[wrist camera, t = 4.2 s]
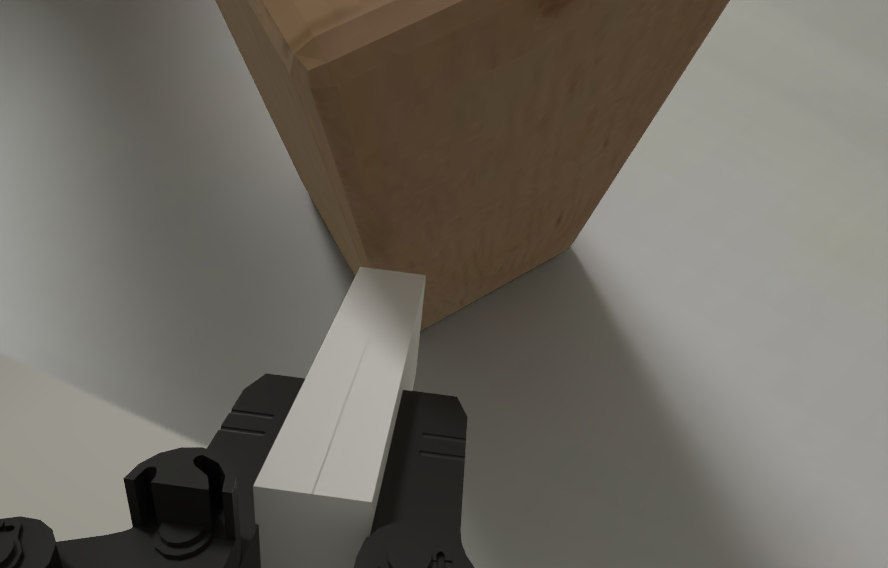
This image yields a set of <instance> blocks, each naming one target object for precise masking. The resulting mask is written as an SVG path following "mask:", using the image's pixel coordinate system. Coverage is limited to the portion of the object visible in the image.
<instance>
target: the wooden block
mask: <svg viewBox="0 0 888 568" xmlns="http://www.w3.org/2000/svg"><path fill="white" fill-rule="evenodd" d="M729 1H730V0H216V2H217V4H218V6H219V9H220V11H221V13H222V15H223V17H224V19H225V21H226V23H227V25H228V27H229V30H230V32H231V34H232V36H233V38H234V40H235V42H236V44H237V46H238V48H239V51H240V53H241V55H242V57H243V59H244V61H245V63H246V65H247V67H248V69H249V71H250V74H251V76H252V78H253V80H254V82H255V84H256V86H257V88H258V90H259V92H260V95H261V97H262V99H263V101H264V103H265V105H266V107H267V109H268V111H269V113H270V116H271V118H272V120H273V122H274V124H275V126H276V128H277V130H278V132H279V134H280V137H281V139H282V141H283V143H284V145H285V147H286V149H287V151H288V153H289V155H290V157H291V160H292V162H293V164H294V166H295V168H296V170H297V172H298V174H299V176H300V178H301V181H302V182H303V184H304V186H305V188H306V190H307V191H308V193H309V195H310V197H311V199H312V200H313V202H314V204H315V206H316V208H317V209H318V211H319V213H320V215H321V217H322V218H323V220H324V222H325V224H326V226H327V227H328V229H329V231H330V233H331V234H332V236H333V238H334V240H335V242H336V243H337V245H338V247H339V249H340V251H341V252H342V254H343V256H344V258H345V260H346V261H347V263H348V265H349V267H350V269H351V270H352V272H353V274H354V276H356V274H357V272H358V270H359V268H360V267H366V268H374V269H382V270H389V271H397V272H405V273H413V274H421V275H426V279H425V289H424V299H423V309H422V319H421V329H420V331H422V330H424V329H426V328H427V327H429V326H431V325H433V324H435V323H436V322H438V321H440V320H442V319H444V318H445V317H447V316H449V315H451V314H453V313H454V312H456V311H458V310H460V309H462V308H463V307H465V306H467V305H469V304H471V303H472V302H474V301H476V300H478V299H480V298H481V297H483V296H485V295H487V294H489V293H490V292H492V291H494V290H496V289H497V288H499V287H501V286H503V285H505V284H506V283H508V282H510V281H512V280H514V279H515V278H517V277H519V276H521V275H523V274H524V273H526V272H528V271H530V270H532V269H533V268H535V267H537V266H539V265H541V264H542V263H544V262H546V261H548V260H550V259H551V258H553V257H555V256H557V255H559V254H560V253H562V252H564V251H566V250H568V249H569V248H570V246H571V245H572V244H573V242H574V241H575V239H576V238H577V236H578V234H579V233H580V231H581V230H582V228H583V227H584V225H585V224H586V222H587V221H588V219H589V217H590V216H591V214H592V213H593V211H594V210H595V208H596V207H597V205H598V204H599V202H600V200H601V199H602V197H603V196H604V194H605V193H606V191H607V190H608V188H609V186H610V185H611V183H612V182H613V180H614V179H615V177H616V176H617V174H618V173H619V171H620V169H621V168H622V166H623V165H624V163H625V162H626V160H627V159H628V157H629V156H630V154H631V152H632V151H633V149H634V148H635V146H636V145H637V143H638V142H639V140H640V139H641V137H642V135H643V134H644V132H645V131H646V129H647V128H648V126H649V125H650V123H651V121H652V120H653V118H654V117H655V115H656V114H657V112H658V111H659V109H660V108H661V106H662V104H663V103H664V101H665V100H666V98H667V97H668V95H669V94H670V92H671V91H672V89H673V87H674V86H675V84H676V83H677V81H678V80H679V78H680V77H681V75H682V74H683V72H684V70H685V69H686V67H687V66H688V64H689V63H690V61H691V60H692V58H693V56H694V55H695V53H696V52H697V50H698V49H699V47H700V46H701V44H702V43H703V41H704V39H705V38H706V36H707V35H708V33H709V32H710V30H711V29H712V27H713V26H714V24H715V22H716V21H717V19H718V18H719V16H720V15H721V13H722V12H723V10H724V9H725V7H726V5H727V4H728V2H729Z"/></svg>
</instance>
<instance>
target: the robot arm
mask: <svg viewBox="0 0 888 568" xmlns="http://www.w3.org/2000/svg"><path fill="white" fill-rule="evenodd" d="M425 279H426V275H421V274H413V273H405V272H397V271H389V270H382V269H374V268H366V267H360V268H359V270H358V272H357V274H356V276H355V278H354V280H353V282H352V284H351V286H350V288H349V290H348V292H347V294H346V296H345V298H344V301H343V303H342V305H341V307H340V309H339V311H338V313H337V315H336V317H335V319H334V321H333V323H332V325H331V327H330V329H329V331H328V333H327V335H326V337H325V340H324V342H323V344H322V346H321V348H320V350H319V352H318V354H317V356H316V358H315V360H314V362H313V364H312V366H311V368H310V370H309V372H308V374H307V376H306V378H305V379H303V378H295V377H288V376H280V375H273V374H265V375H264V376H262V377H261V378H259V379H258V380H257V381H255V382H254V383H252V384H251V385H250V386H248V387H247V388H245V389H244V390H243V392H242V394H241V395H240V397H239V398H238V400H237V402H236V403H235V405H234V406H233V408H232V411H231V413H229V414H228V416H227V418H226V419H225V421H224V422H223V424H222V425H221V430H218V432H217V433H216V435H215V437H214V438H213V440H212V441H211V443H210V445H209V446H208V448H207V449H205V448H178V449H174V450H170V451H166V452H162V453H159V454H157V455H155V456H153V457H151V458H149V459H147V460H146V461H144V462H142V463H140V464H138V466H136V467H135V468H134V469H133V470H132V471H131V472H130V473H129V474H128V475H127V476H126V477H125V478H124V483H125V488H126V493H127V498H128V503H129V509H130V514H131V520H132V524H133V527H132V528H131V529H129V530H126V531H123V532H119V533H114V534H109V535H104V536H96V537H89V538H82V539H75V540H68V541H60V542H56V541H55V538H54V534H53V530H52V529H51V528H49V527H48V526H47V525H46V524H44V523H43V522H42V521H41V520H37V519H32V518H26V517H13V518H5V519H0V568H474V566H473V565H472V563H471V562H470V560H469V559H468V558H467V556H466V554H465V551H464V548H463V546H462V543H461V533H460V527H461V510H462V494H463V478H464V459H465V445H466V443H465V442H466V429H467V415H466V413H465V412H464V410H463V408H462V406H461V404H460V402H459V400H458V398H457V397H454V396H446V395H439V394H431V393H423V392H416V391H413V386H414V381H415V376H416V368H417V358H418V348H419V339H420V329H421V319H422V309H423V299H424V289H425Z"/></svg>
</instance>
